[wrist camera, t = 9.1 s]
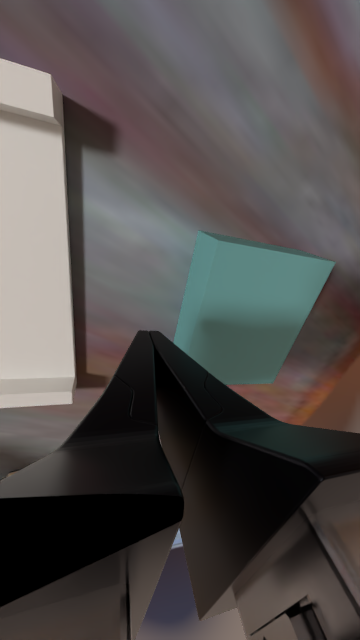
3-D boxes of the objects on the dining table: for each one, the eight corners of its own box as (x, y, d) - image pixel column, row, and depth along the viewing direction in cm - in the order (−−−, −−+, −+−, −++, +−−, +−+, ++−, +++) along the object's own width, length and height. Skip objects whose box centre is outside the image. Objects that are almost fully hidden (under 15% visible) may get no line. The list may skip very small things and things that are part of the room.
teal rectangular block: (250, 355, 21) (272, 383, 18) (169, 354, 19) (179, 386, 16) (296, 249, 17) (335, 262, 14) (197, 229, 14) (218, 240, 11)
